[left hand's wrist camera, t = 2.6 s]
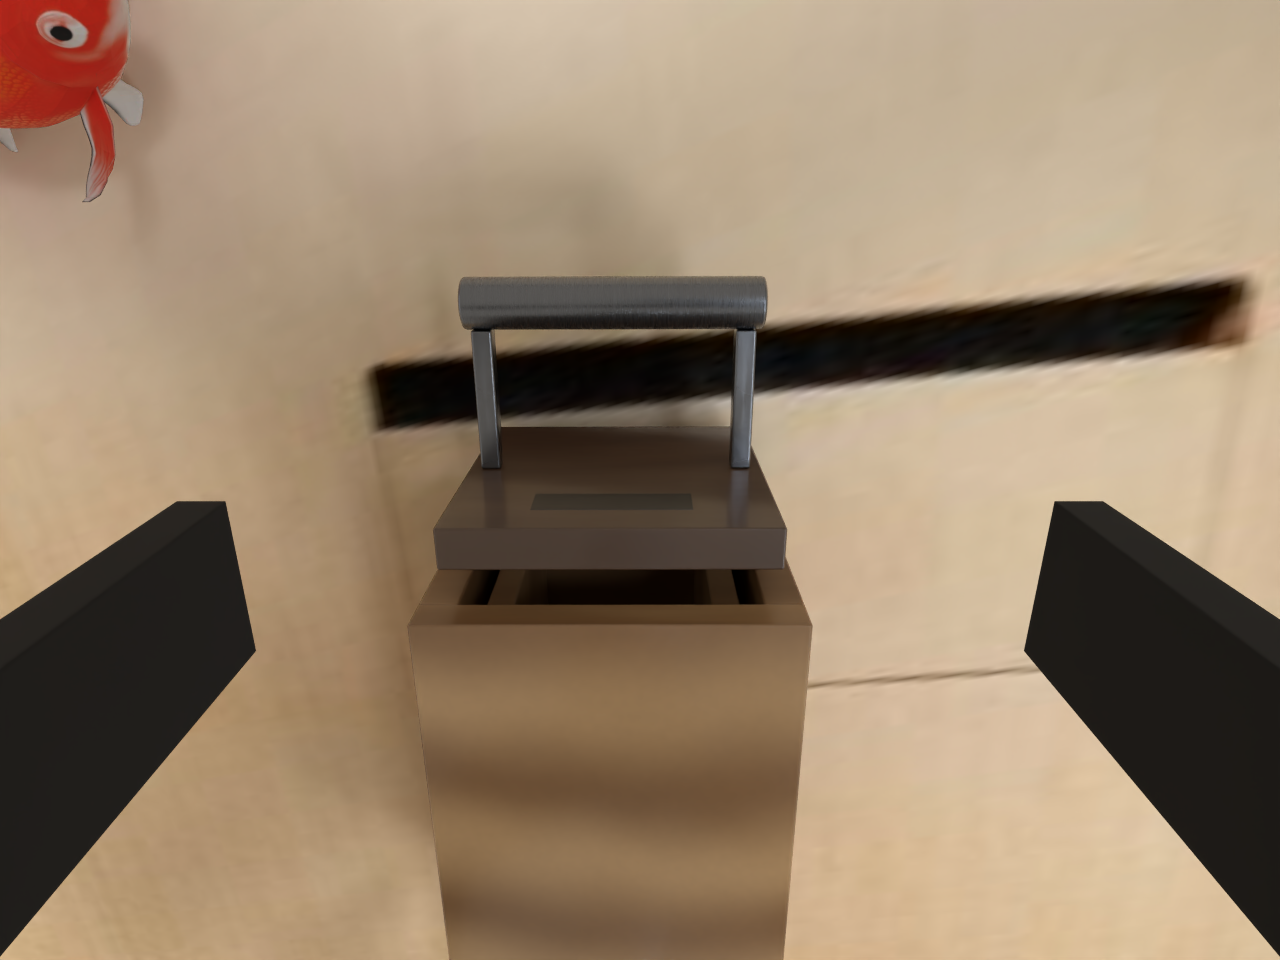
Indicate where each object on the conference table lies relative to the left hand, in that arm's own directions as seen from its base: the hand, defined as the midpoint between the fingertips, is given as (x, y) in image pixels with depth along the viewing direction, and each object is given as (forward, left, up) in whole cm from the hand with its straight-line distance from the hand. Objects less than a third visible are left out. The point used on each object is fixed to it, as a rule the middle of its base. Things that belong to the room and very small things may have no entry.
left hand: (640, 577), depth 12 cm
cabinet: (+13, +7, -17) cm, 22 cm away
